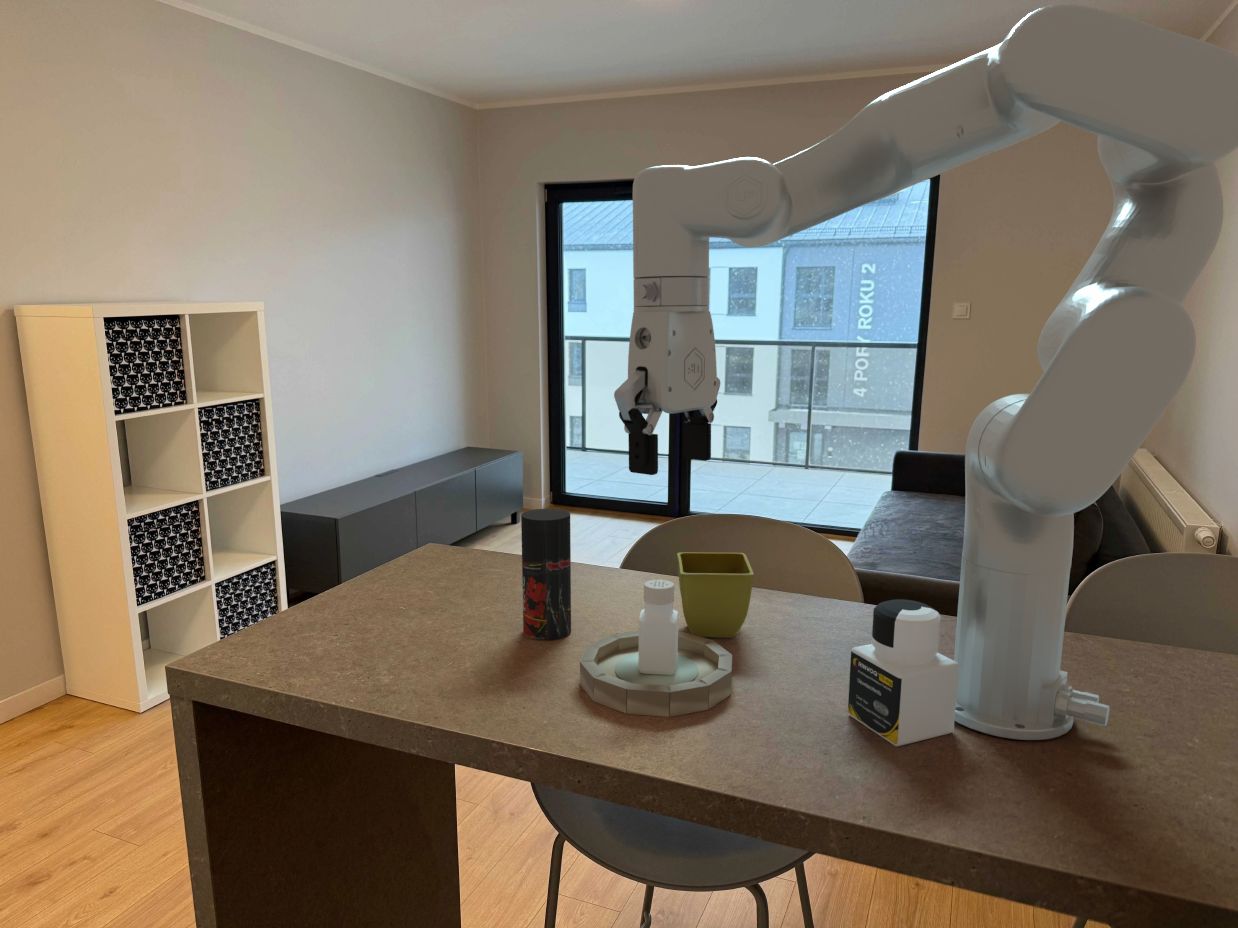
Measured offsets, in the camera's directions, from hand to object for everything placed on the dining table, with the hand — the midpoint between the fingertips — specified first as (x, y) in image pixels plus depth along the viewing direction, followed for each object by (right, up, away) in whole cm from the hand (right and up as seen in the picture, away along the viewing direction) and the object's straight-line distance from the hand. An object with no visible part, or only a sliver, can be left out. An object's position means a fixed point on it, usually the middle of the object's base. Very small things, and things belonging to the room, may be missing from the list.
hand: (671, 465), depth 87 cm
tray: (-1, -23, +4) cm, 24 cm away
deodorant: (-14, -21, +18) cm, 31 cm away
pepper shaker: (-1, -22, +4) cm, 22 cm away
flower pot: (+6, -21, +18) cm, 28 cm away
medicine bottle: (+22, -25, -5) cm, 34 cm away
